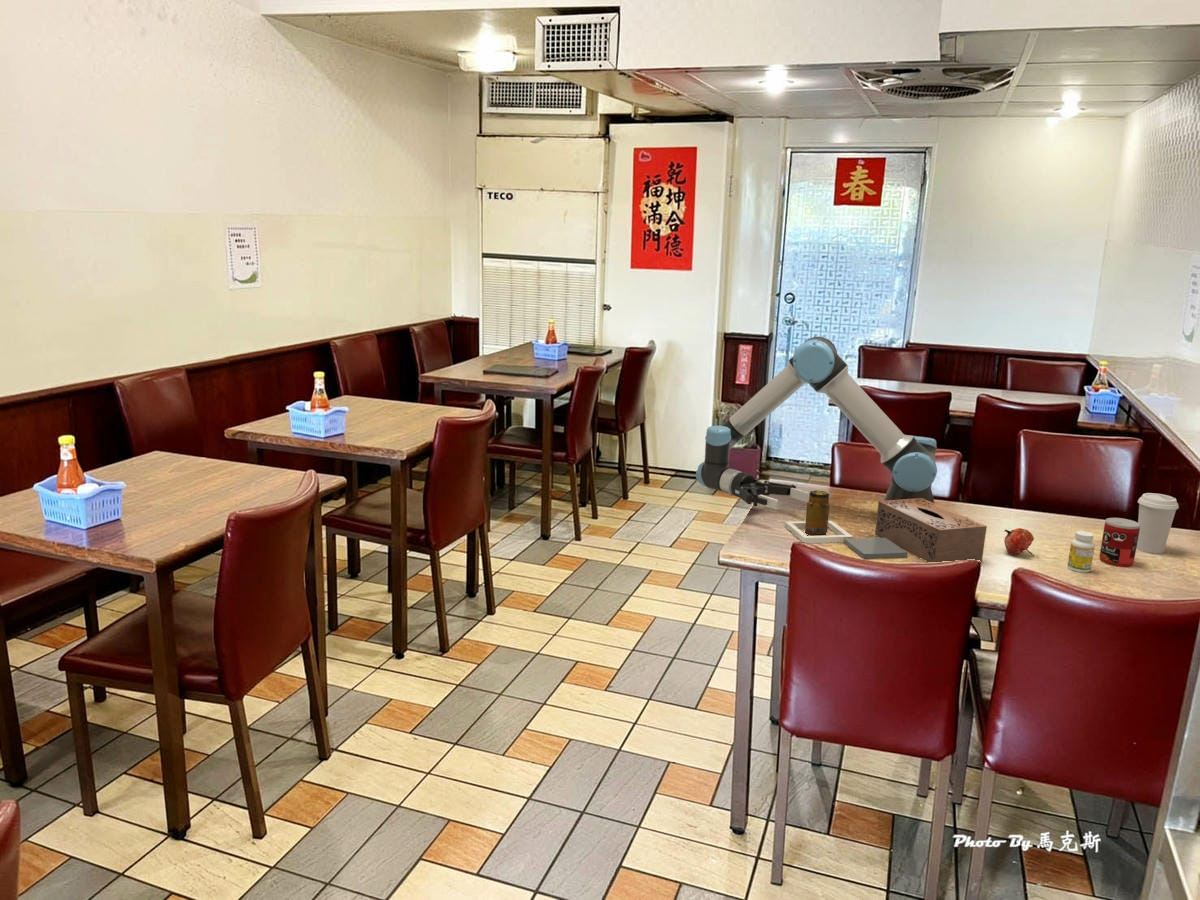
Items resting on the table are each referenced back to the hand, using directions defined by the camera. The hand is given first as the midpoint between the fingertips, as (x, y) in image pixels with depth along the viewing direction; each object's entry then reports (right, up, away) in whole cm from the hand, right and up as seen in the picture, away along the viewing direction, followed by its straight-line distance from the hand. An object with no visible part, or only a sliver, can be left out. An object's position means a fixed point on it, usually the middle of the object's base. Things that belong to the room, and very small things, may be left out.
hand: (793, 501), depth 257 cm
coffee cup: (+96, -13, -9) cm, 97 cm away
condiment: (+6, -9, -5) cm, 12 cm away
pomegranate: (+56, -13, -16) cm, 60 cm away
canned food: (+80, -15, -20) cm, 84 cm away
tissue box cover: (+33, -12, -13) cm, 38 cm away
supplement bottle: (+67, -16, -26) cm, 74 cm away
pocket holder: (+6, -9, -6) cm, 12 cm away
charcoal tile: (+18, -12, -17) cm, 28 cm away
